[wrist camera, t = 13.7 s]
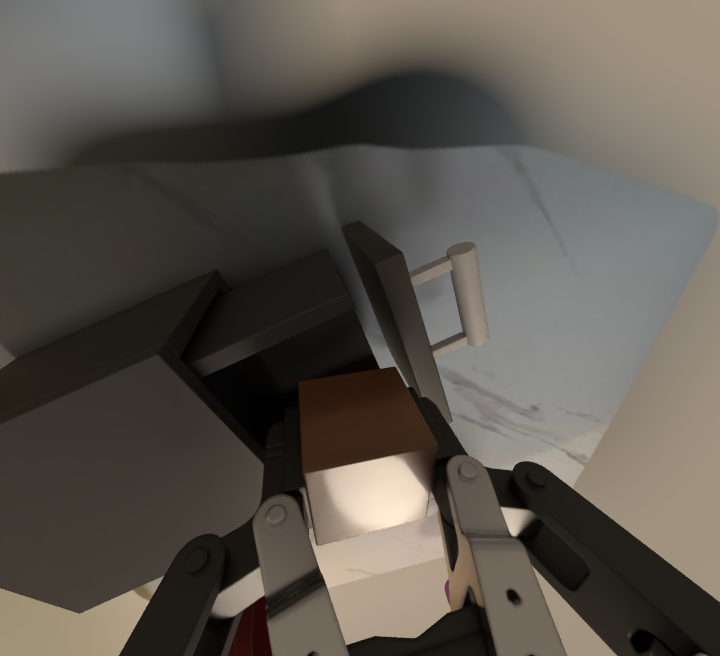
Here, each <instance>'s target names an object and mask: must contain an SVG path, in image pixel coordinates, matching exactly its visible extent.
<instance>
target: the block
mask: <svg viewBox="0 0 720 656" xmlns="http://www.w3.org/2000/svg"><path fill="white" fill-rule="evenodd" d="M298 391H299V412H300V432H301V453H302V472H303V478H304V483H305V488H306V494H307V499H308V504H309V510H310V515H311V520H312V526H313V531H314V536H315V542H316V545H318V546H319V545H323V544H327V543H331V542H335V541H339V540H343V539H347V538H350V537H354V536H358V535H362V534H366V533H370V532H374V531H378V530H382V529H386V528H390V527H394V526H398V525H402V524H405V523H409V522H413V521H417V520H421V519H425V518H426V515H427V509H428V503H429V496H430V490H431V484H432V478H433V471H434V465H435V459H436V453H437V446H438V444H437V442H436V440H435V438H434V437H433V435H432V433H431V431H430V429H429V427H428V426H427V424H426V422H425V420H424V418H423V416H422V415H421V413H420V411H419V409H418V407H417V405H416V403H415V402H414V400H413V398H412V396H411V394H410V392H409V391H408V389H407V387H406V385H405V383H404V381H403V380H402V378H401V376H400V374H399V372H398V370H397V368H396V367H389V368H383V369H376V370H370V371H363V372H357V373H350V374H344V375H337V376H331V377H324V378H318V379H311V380H305V381H299V383H298Z"/></svg>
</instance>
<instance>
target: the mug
mask: <svg viewBox="0 0 720 656" xmlns="http://www.w3.org/2000/svg"><path fill="white" fill-rule="evenodd" d="M228 656H273V655H272V649H271V643H270V638H269V632H268V626H267V619H266V599H265V595H264V596H262V597H261V598H259V599H258V600H257V601H255V602H254V603H252V604H251V605H250V606H248V607H247V608H245V609H244V610H243V612H242V615H241V618H240V621H239V624H238V627H237V630H236V633H235V636H234V638H233V641H232V644H231V647H230V650H229V653H228Z"/></svg>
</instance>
